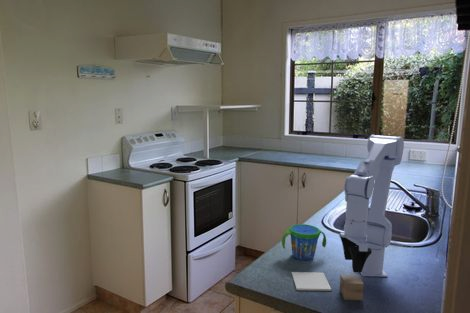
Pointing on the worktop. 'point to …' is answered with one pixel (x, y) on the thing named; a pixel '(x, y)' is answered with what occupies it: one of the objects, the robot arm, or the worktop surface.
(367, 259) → the robot arm
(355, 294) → the walnut block
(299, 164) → the worktop surface
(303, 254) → the snack cup
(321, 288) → the cream tile
